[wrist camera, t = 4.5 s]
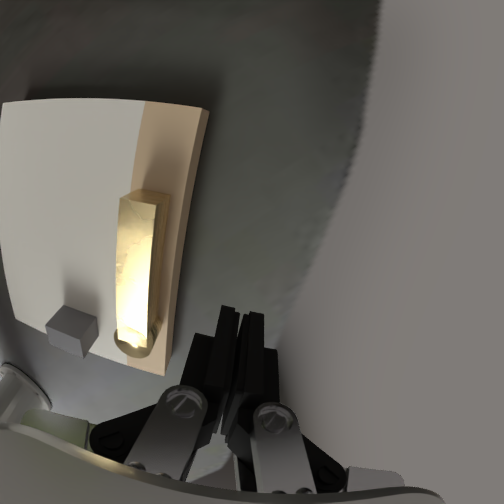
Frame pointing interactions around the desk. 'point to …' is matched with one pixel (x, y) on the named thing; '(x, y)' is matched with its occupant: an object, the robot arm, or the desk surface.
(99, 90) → the desk surface
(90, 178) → the white cabinet door
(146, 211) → the gold bar
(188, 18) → the desk surface
